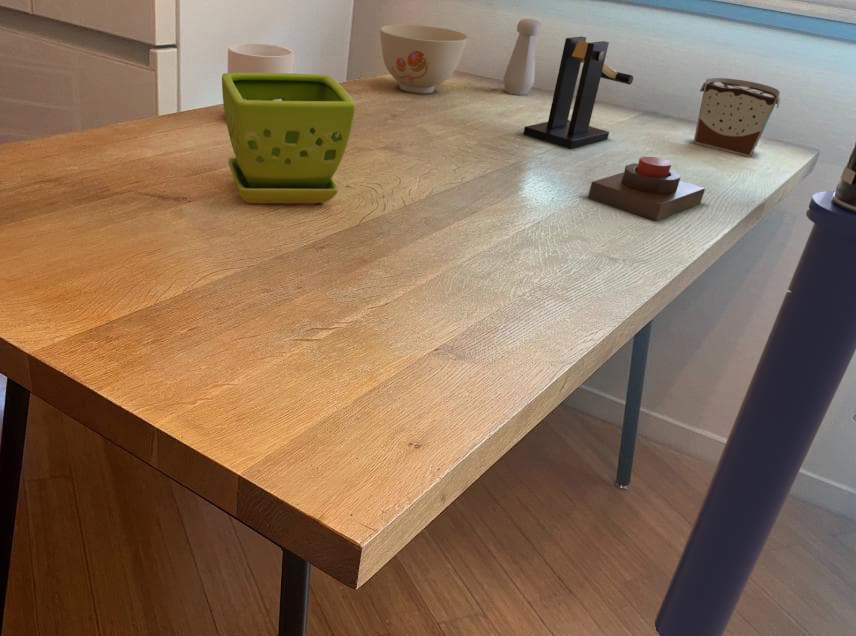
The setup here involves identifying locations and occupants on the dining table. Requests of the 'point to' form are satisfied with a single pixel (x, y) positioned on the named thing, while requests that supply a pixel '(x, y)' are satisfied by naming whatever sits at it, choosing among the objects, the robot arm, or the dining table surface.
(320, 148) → the flower pot
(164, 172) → the dining table surface
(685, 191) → the block
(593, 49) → the lock bracket
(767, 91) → the food container
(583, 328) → the dining table surface
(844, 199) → the robot arm
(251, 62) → the mug
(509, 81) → the salt shaker
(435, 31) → the bowl
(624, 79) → the lever
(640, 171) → the button
